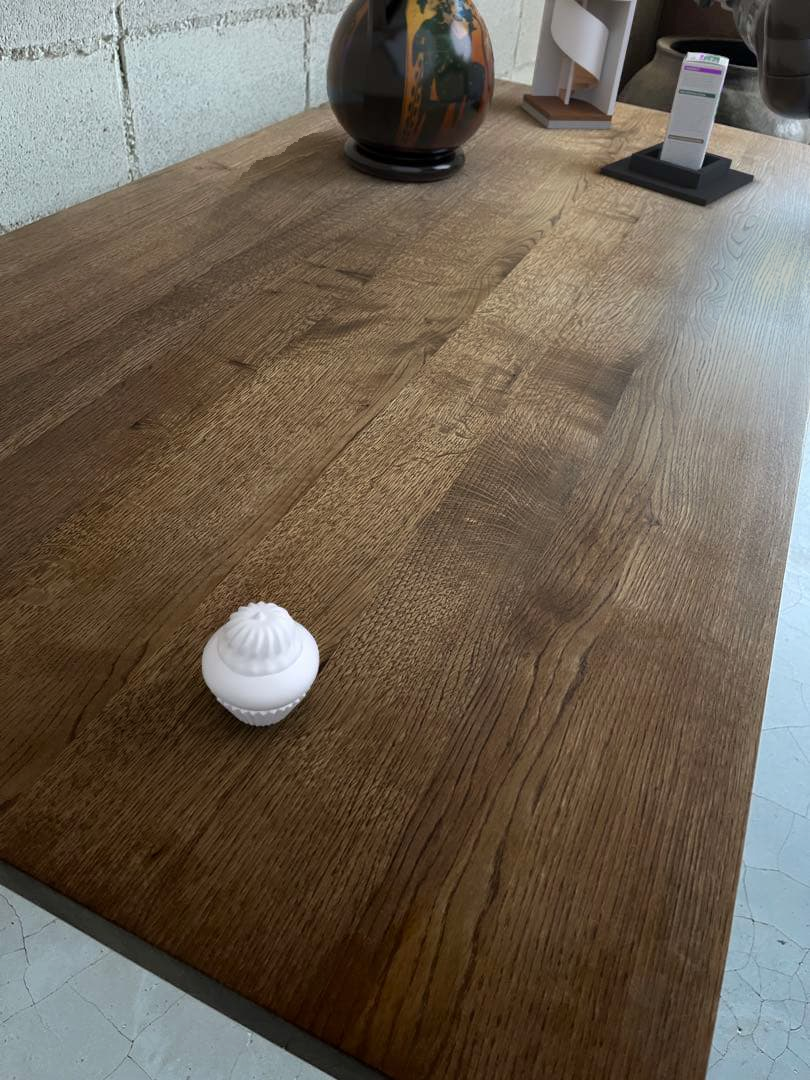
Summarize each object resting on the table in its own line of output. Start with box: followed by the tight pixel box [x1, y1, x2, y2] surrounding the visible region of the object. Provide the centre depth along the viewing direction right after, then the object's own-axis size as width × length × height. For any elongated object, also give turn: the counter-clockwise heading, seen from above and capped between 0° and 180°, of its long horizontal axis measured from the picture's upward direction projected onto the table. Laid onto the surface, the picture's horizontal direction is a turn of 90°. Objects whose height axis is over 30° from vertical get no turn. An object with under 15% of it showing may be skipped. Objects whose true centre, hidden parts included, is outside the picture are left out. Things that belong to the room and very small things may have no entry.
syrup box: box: [660, 51, 730, 170], centre depth 124 cm, size 6×6×14 cm
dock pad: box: [599, 141, 755, 207], centre depth 128 cm, size 16×16×3 cm
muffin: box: [201, 600, 320, 727], centre depth 48 cm, size 6×6×7 cm
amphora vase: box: [325, 0, 496, 183], centre depth 115 cm, size 22×22×28 cm
